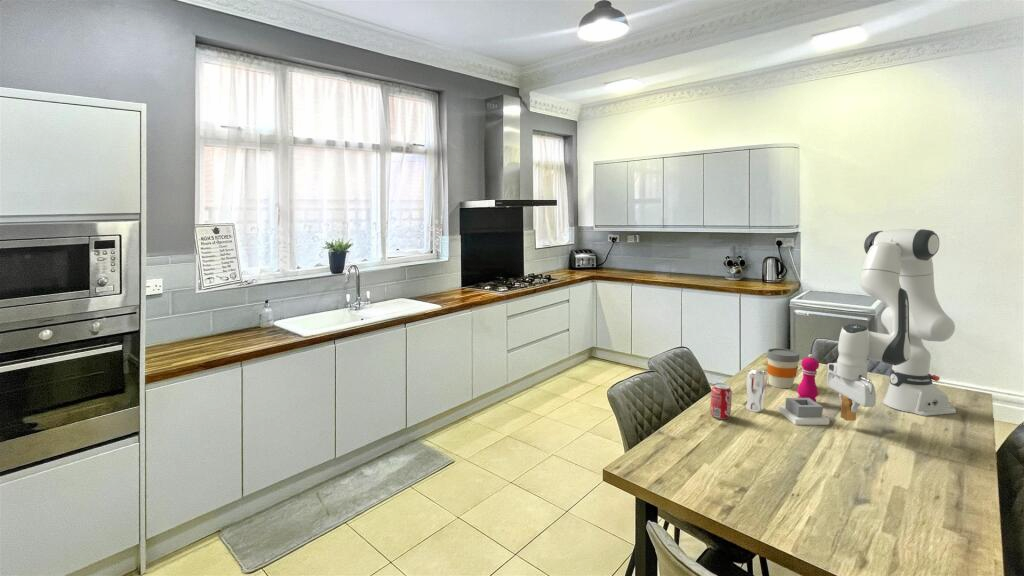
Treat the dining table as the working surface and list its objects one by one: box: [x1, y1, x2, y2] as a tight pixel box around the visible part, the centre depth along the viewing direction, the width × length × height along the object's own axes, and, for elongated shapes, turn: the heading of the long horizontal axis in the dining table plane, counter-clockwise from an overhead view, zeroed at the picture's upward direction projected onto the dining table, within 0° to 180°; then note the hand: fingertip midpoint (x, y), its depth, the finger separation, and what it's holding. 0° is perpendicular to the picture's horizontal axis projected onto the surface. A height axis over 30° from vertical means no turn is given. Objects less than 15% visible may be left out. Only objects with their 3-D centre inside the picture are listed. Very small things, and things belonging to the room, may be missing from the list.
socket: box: [777, 397, 830, 426], centre depth 181 cm, size 12×12×6 cm
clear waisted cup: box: [745, 368, 768, 413], centre depth 188 cm, size 7×7×15 cm
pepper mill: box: [796, 353, 820, 403], centre depth 194 cm, size 7×7×20 cm
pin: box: [840, 395, 857, 422], centre depth 172 cm, size 3×3×10 cm
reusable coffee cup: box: [766, 347, 800, 389], centre depth 215 cm, size 13×13×15 cm
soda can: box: [709, 382, 733, 420], centre depth 182 cm, size 7×7×12 cm
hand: (848, 408), depth 172 cm, fingers closed on pin, 3 cm apart
